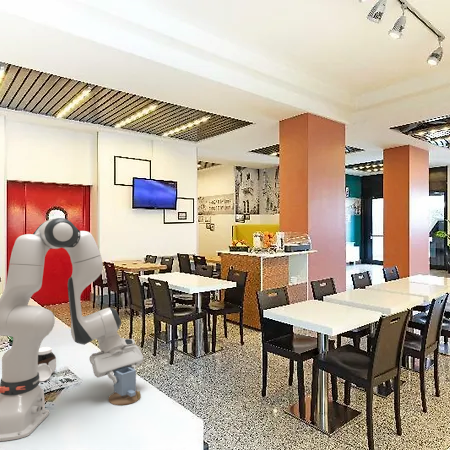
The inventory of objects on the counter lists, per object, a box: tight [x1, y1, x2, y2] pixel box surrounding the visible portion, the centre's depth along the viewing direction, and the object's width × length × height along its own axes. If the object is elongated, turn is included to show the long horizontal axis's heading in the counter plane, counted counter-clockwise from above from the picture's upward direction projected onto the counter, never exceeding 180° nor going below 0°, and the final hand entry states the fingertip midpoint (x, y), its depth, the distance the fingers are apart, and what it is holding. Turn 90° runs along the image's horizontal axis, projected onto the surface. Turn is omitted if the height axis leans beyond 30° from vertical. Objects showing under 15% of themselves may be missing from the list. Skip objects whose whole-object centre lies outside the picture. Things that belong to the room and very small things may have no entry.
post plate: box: [108, 390, 142, 406], centre depth 148 cm, size 12×12×7 cm
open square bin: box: [113, 366, 137, 397], centre depth 147 cm, size 9×6×8 cm, turn 45°
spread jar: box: [38, 346, 57, 382], centre depth 169 cm, size 12×11×12 cm
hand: (125, 379), depth 147 cm, fingers closed on open square bin, 6 cm apart
